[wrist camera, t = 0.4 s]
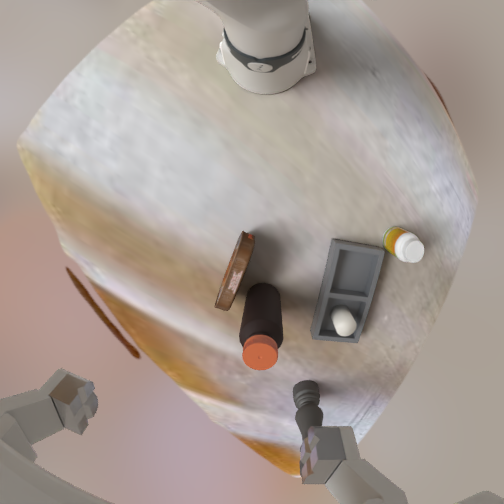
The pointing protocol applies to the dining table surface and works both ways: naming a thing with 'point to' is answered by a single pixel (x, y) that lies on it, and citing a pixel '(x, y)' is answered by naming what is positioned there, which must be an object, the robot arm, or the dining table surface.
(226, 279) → the tin
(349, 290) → the caddy
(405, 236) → the supplement bottle
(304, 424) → the candle holder
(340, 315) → the shaker
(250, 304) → the vinegar
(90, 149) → the dining table surface
